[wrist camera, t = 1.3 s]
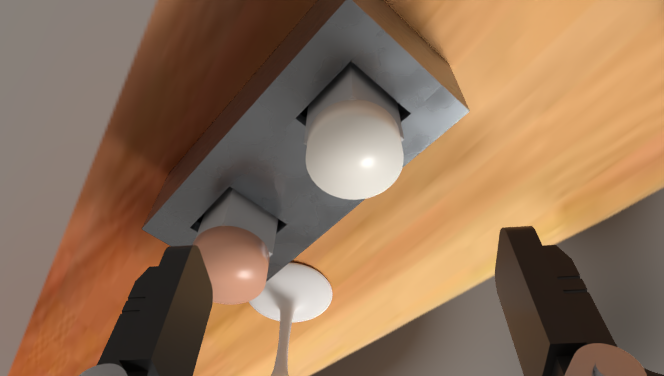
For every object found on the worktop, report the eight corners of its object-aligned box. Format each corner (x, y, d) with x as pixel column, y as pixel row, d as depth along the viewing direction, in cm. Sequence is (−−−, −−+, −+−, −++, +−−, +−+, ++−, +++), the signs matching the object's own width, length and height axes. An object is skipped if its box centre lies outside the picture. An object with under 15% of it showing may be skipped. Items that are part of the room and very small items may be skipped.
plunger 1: (291, 207, 38) (282, 275, 32) (250, 244, 40) (234, 314, 34) (234, 168, 36) (214, 233, 30) (194, 210, 38) (168, 278, 32)
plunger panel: (449, 65, 36) (469, 111, 30) (263, 234, 46) (252, 293, 40) (347, -35, 32) (348, -4, 27) (168, 174, 42) (141, 229, 36)
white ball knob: (409, 98, 32) (424, 158, 27) (353, 149, 35) (356, 214, 29) (350, 45, 30) (352, 97, 25) (295, 103, 33) (285, 163, 27)
